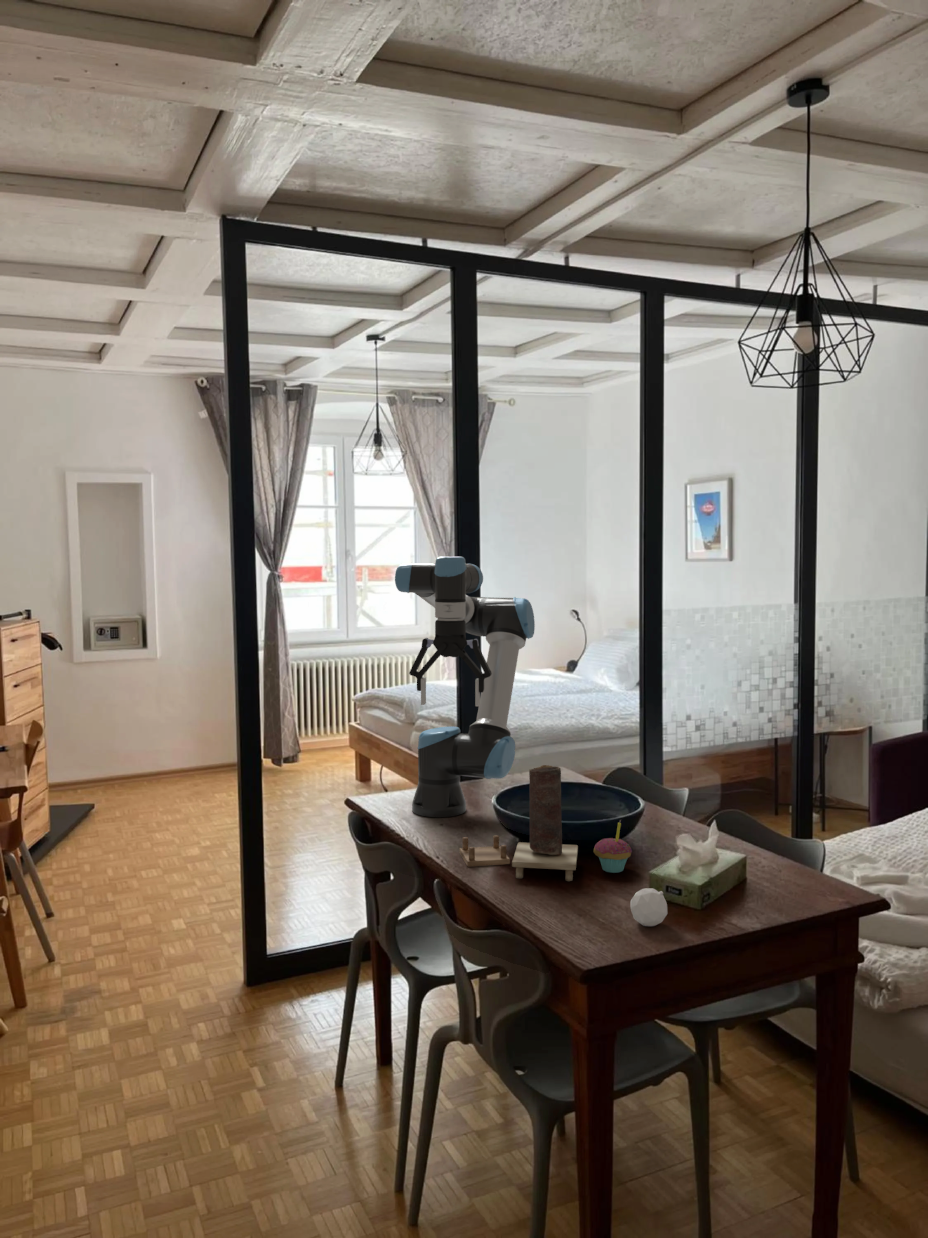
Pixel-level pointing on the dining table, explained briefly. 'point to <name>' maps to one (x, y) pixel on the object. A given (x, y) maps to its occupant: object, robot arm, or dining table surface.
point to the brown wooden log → (545, 810)
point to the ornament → (648, 907)
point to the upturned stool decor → (484, 854)
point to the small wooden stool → (545, 860)
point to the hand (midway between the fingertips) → (450, 704)
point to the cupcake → (613, 853)
